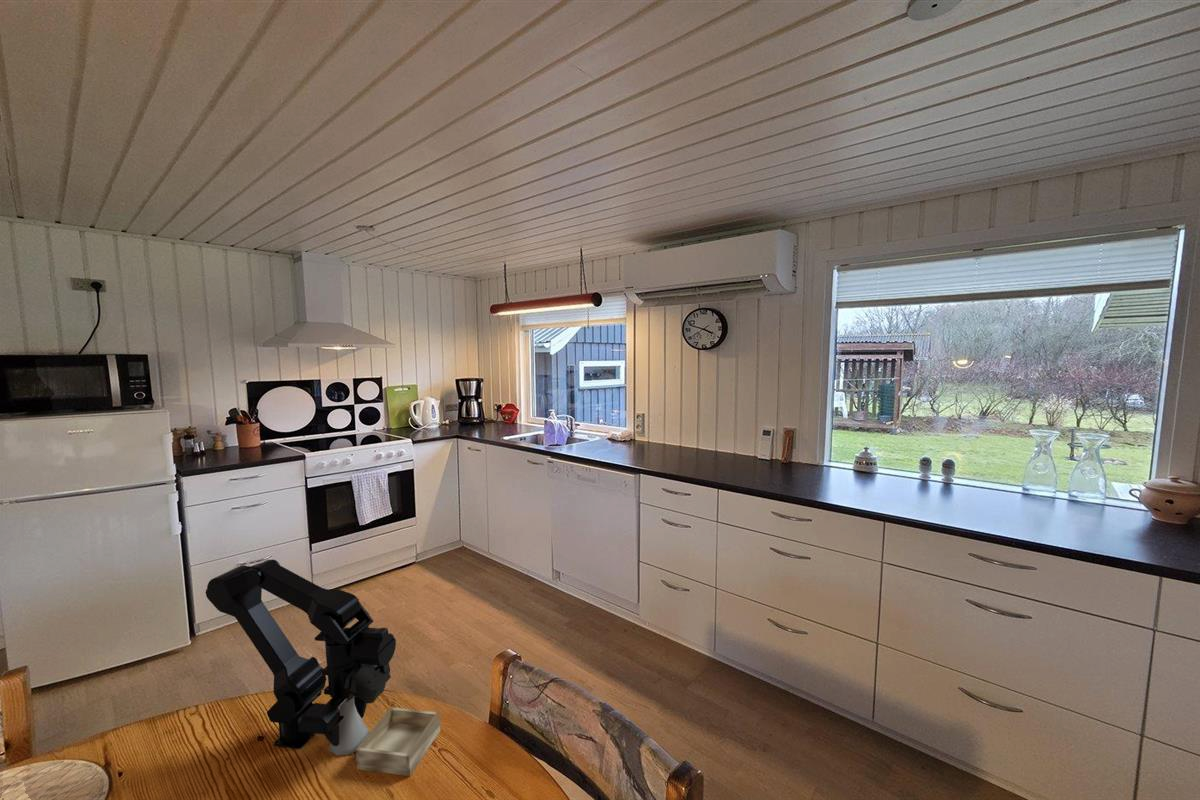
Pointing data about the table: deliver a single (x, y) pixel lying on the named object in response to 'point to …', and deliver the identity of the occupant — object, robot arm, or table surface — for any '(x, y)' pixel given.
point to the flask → (349, 729)
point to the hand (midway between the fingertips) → (348, 730)
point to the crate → (398, 741)
